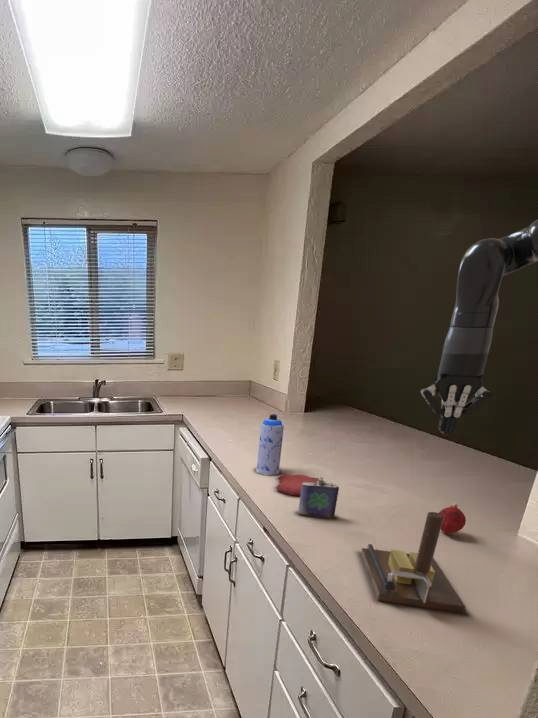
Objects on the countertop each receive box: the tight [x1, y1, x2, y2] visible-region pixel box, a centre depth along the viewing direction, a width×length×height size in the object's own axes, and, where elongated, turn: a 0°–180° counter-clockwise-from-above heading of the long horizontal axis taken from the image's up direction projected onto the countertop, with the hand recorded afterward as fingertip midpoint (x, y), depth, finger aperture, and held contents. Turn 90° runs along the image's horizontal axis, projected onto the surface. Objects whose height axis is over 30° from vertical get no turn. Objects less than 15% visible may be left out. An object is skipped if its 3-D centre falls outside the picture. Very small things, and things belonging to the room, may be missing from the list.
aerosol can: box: [255, 413, 285, 476], centre depth 148 cm, size 8×8×20 cm
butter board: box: [360, 543, 466, 614], centre depth 88 cm, size 14×18×5 cm
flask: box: [297, 476, 340, 519], centre depth 116 cm, size 9×3×11 cm, turn 75°
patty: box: [276, 473, 319, 497], centre depth 136 cm, size 18×14×2 cm
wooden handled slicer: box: [382, 511, 444, 603], centre depth 79 cm, size 8×6×16 cm
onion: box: [438, 503, 467, 535], centre depth 106 cm, size 6×6×8 cm
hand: (445, 433), depth 94 cm, fingers closed
